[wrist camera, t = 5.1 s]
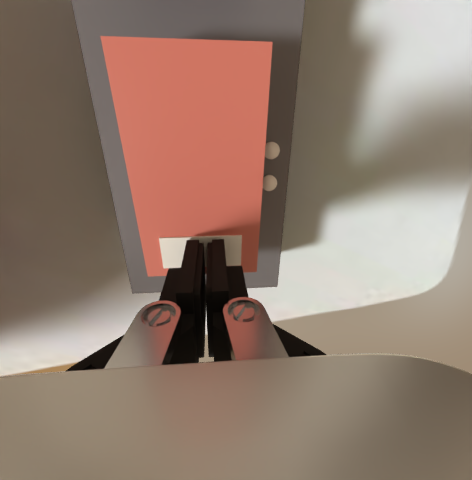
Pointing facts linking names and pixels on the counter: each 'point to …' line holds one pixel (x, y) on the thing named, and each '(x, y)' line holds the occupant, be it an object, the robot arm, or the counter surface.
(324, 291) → the counter surface
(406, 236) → the counter surface
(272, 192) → the rocker switch box
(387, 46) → the counter surface
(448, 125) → the counter surface
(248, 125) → the plate
